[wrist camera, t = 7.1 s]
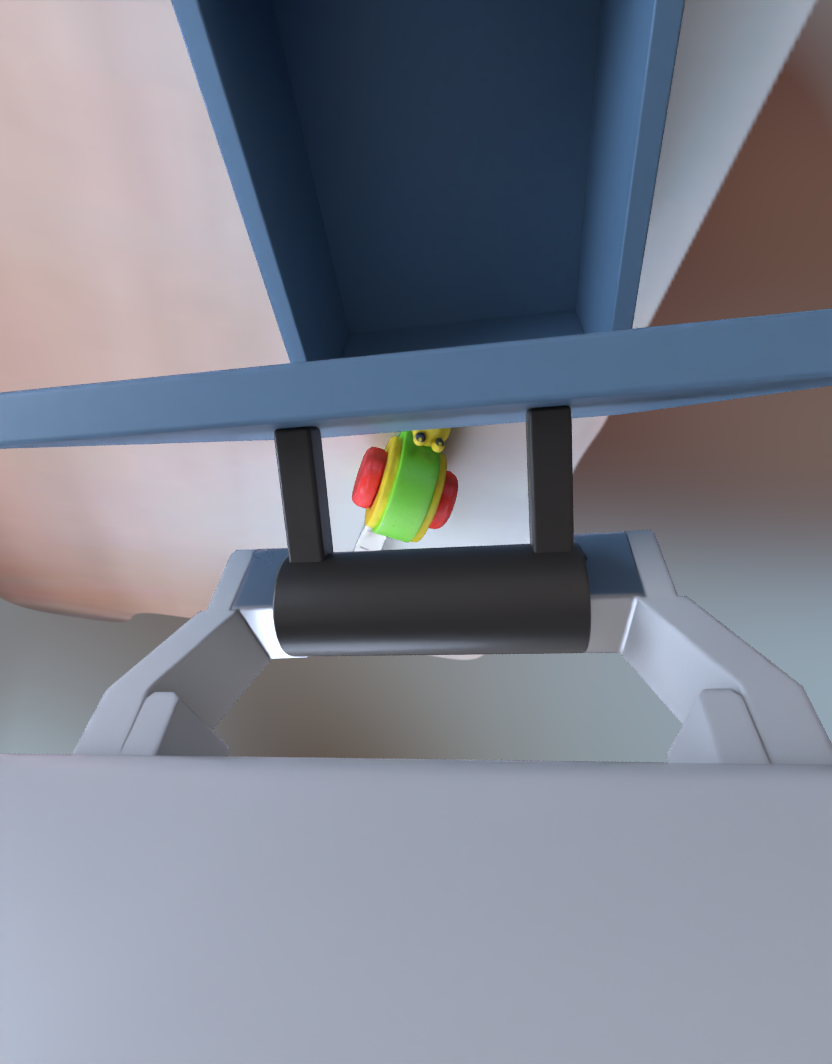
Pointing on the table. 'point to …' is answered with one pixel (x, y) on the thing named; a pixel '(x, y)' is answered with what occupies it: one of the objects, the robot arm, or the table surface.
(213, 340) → the table surface
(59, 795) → the robot arm
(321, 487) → the chest lid
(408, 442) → the toy measuring tape
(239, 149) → the toy chest
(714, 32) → the table surface
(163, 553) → the table surface
